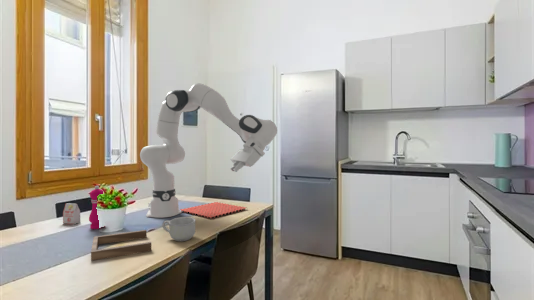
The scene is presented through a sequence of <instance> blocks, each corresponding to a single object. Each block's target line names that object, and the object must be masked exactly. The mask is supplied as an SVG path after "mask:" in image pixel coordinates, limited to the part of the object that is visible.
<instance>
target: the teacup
mask: <svg viewBox="0 0 534 300" xmlns="http://www.w3.org/2000/svg"><path fill="white" fill-rule="evenodd" d="M166 224H168V227H167V226H166ZM162 228H163V230H165V231H166V232H167V233H168V234H169V236H170V238H171V239H172V240H174V241H175V242H186V241H187V242H188V241H189V240H191V238H193V237H194V236H195V234H196V218H194V217H191V216H181V217H175V218H172V219H171V220H165V221H163V223H162Z"/></svg>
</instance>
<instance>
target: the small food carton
mask: <svg viewBox="0 0 534 300" xmlns="http://www.w3.org/2000/svg"><path fill="white" fill-rule="evenodd" d="M79 222H80V223H81V210H80V208H79V206H78V203H70V202H69V203H66V202H65V204H64V208H63V211H62V224H63V223H67V224H66V225H73V224H75V225H77V224H76V223H78V224H80V223H79Z"/></svg>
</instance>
